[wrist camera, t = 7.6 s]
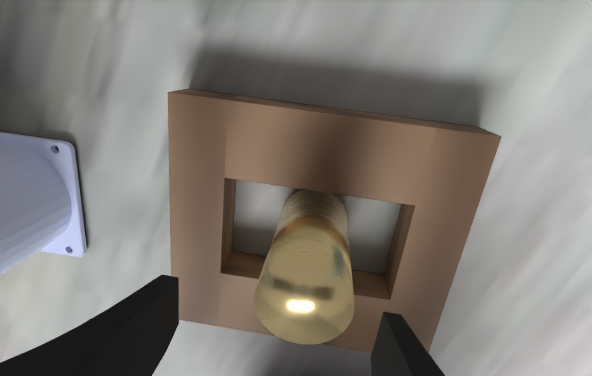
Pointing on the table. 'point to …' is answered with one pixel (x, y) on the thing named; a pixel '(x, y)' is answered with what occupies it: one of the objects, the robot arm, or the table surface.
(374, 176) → the jig plate
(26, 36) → the table surface
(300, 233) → the brass peg
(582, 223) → the table surface
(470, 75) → the table surface
